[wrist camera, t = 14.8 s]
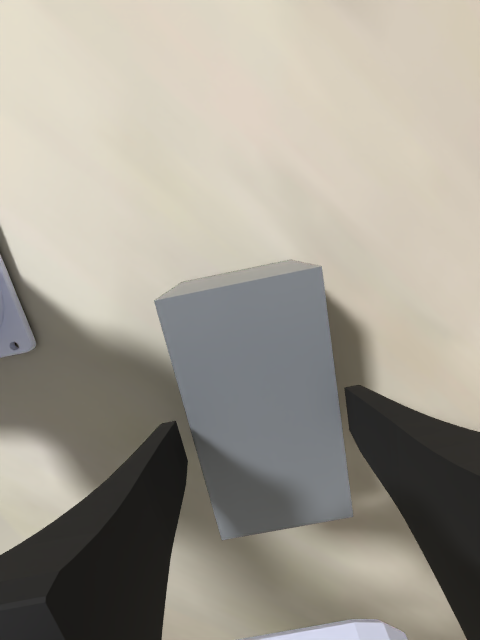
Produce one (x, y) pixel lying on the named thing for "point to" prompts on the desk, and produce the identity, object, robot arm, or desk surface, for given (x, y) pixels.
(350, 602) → the desk surface
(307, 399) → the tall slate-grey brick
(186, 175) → the desk surface
